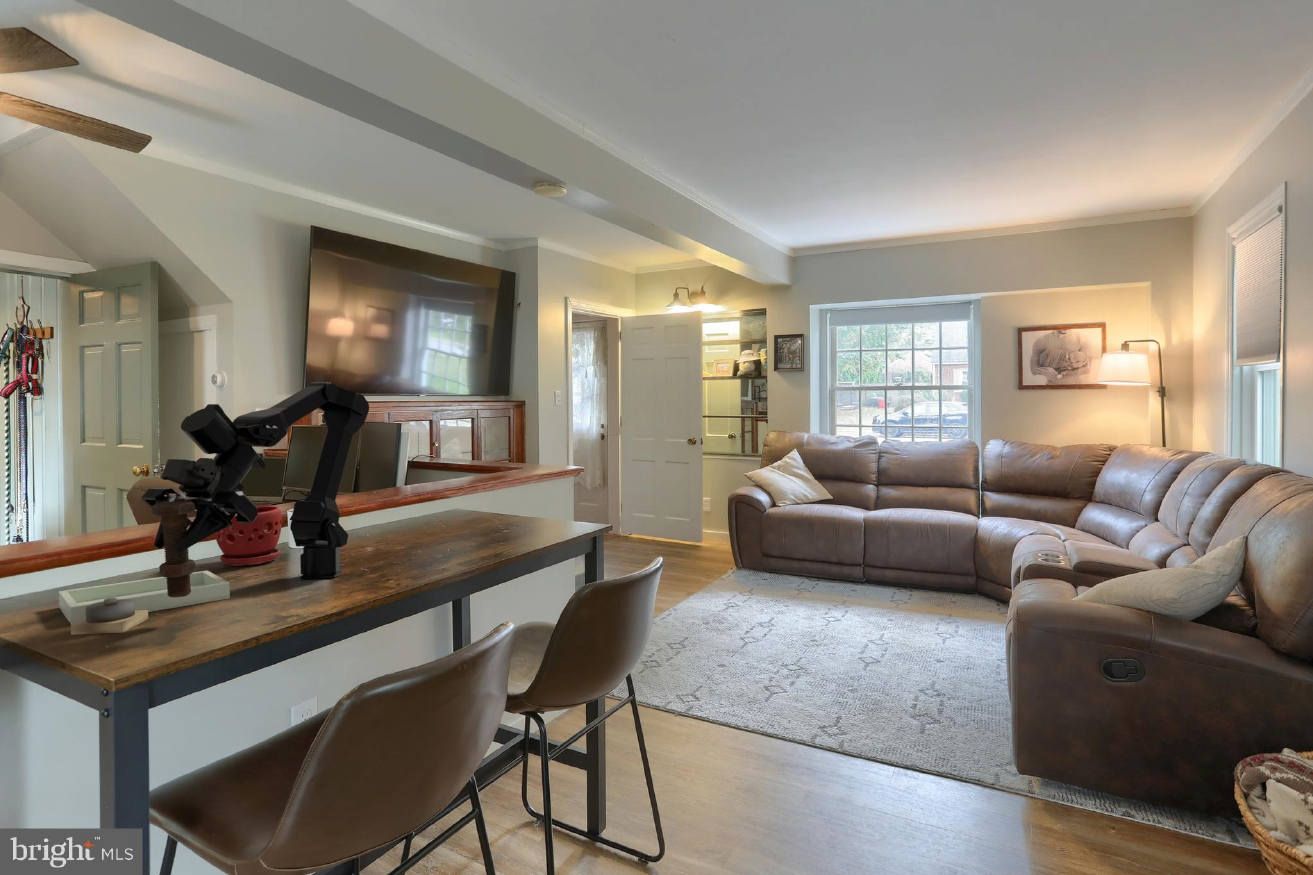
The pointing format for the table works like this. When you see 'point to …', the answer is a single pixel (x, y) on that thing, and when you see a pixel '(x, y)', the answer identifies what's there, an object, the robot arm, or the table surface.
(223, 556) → the plant pot
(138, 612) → the stand
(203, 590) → the tray
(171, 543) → the bolt
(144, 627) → the table surface
